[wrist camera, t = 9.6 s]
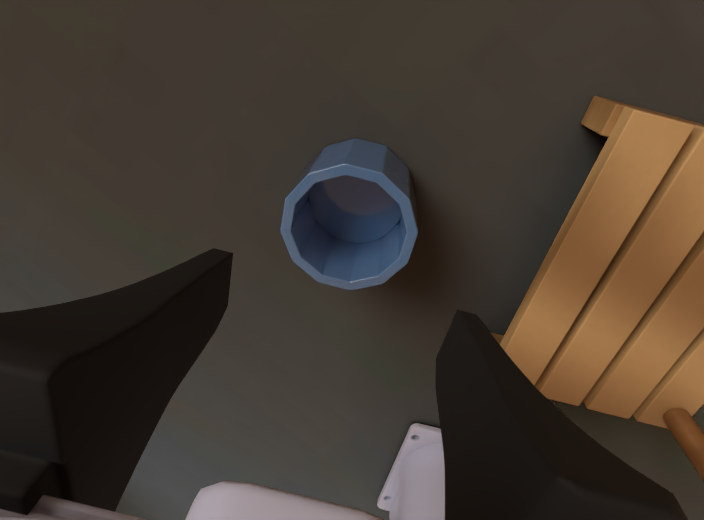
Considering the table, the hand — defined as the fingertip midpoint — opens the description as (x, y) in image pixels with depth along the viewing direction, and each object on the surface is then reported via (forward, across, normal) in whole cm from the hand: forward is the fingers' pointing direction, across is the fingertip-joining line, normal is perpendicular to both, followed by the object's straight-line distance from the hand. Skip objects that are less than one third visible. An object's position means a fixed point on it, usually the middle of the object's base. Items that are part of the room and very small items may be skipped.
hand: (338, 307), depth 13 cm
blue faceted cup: (+9, 0, 0) cm, 9 cm away
